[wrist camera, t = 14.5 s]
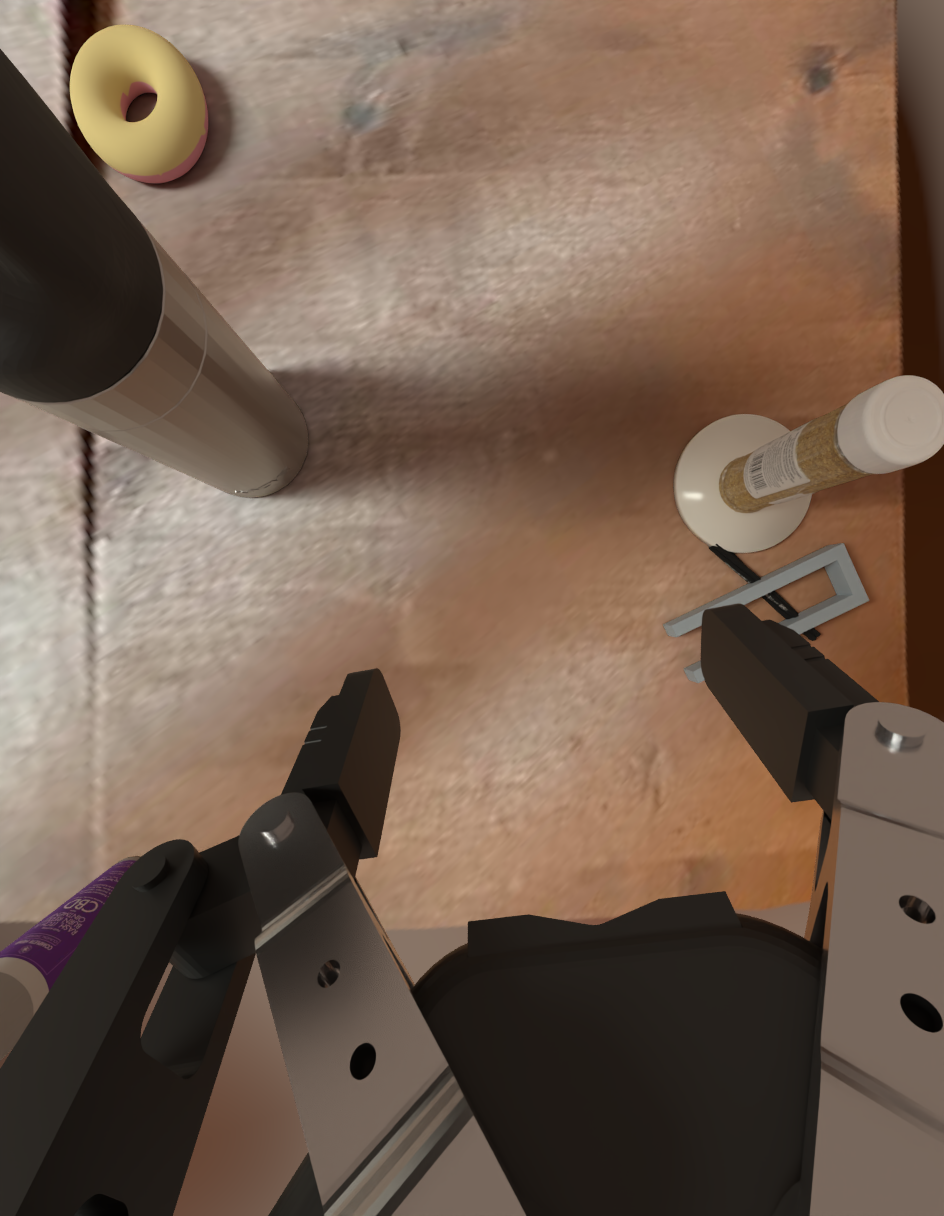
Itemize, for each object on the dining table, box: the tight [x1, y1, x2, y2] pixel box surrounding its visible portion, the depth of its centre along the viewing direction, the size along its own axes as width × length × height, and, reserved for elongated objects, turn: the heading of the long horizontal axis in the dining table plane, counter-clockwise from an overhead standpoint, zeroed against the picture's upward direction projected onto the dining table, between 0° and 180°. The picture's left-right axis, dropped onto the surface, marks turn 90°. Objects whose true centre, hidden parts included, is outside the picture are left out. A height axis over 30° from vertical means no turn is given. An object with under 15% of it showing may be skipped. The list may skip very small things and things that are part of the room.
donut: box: [70, 25, 208, 183], centre depth 33 cm, size 10×5×9 cm
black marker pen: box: [708, 544, 820, 641], centre depth 36 cm, size 12×1×1 cm, turn 48°
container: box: [0, 857, 140, 1060], centre depth 29 cm, size 5×5×15 cm
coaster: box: [673, 414, 812, 553], centre depth 36 cm, size 11×11×1 cm
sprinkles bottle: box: [719, 375, 944, 513], centre depth 29 cm, size 5×5×14 cm
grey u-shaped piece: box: [663, 543, 869, 683], centre depth 36 cm, size 5×15×2 cm, turn 116°
